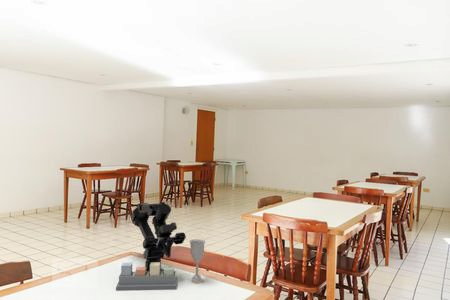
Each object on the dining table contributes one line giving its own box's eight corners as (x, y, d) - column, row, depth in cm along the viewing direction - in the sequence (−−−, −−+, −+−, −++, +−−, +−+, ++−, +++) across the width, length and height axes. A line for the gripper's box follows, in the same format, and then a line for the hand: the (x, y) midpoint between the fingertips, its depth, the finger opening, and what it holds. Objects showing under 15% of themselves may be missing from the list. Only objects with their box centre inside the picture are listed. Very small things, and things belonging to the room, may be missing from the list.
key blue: (132, 275, 161) (132, 262, 161) (130, 278, 157) (130, 265, 157) (122, 275, 161) (123, 262, 160) (121, 278, 157) (121, 265, 156)
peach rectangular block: (146, 279, 161) (146, 266, 161) (144, 282, 157) (145, 269, 157) (136, 279, 161) (137, 266, 161) (135, 282, 157) (135, 269, 157)
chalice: (207, 279, 167) (208, 240, 166) (200, 285, 161) (201, 244, 160) (193, 277, 170) (194, 238, 169) (185, 282, 164) (186, 241, 163)
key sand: (160, 274, 162) (160, 262, 162) (159, 278, 158) (159, 265, 158) (150, 274, 162) (150, 262, 161) (149, 278, 158) (149, 265, 157)
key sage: (173, 278, 163) (173, 266, 162) (173, 282, 159) (173, 269, 158) (164, 278, 162) (164, 266, 162) (163, 282, 158) (164, 269, 158)
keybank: (177, 280, 166) (177, 269, 166) (176, 289, 156) (176, 277, 156) (120, 281, 163) (120, 270, 163) (115, 290, 154) (116, 278, 153)
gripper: (144, 218, 160) (153, 250, 150) (184, 214, 169) (194, 244, 160) (139, 232, 167) (146, 264, 157) (177, 228, 176) (186, 257, 167)
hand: (169, 257), depth 160 cm, fingers closed
